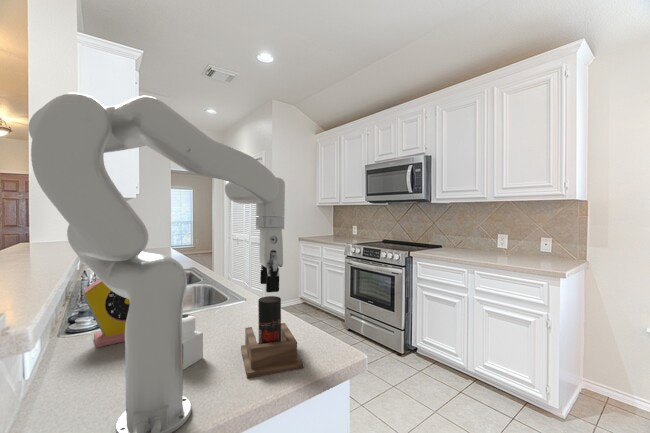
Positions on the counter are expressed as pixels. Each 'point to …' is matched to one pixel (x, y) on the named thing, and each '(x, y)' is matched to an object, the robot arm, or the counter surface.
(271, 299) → the deodorant
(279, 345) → the cradle
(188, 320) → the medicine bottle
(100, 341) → the yellow clock
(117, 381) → the counter surface
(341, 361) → the counter surface
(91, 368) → the counter surface
